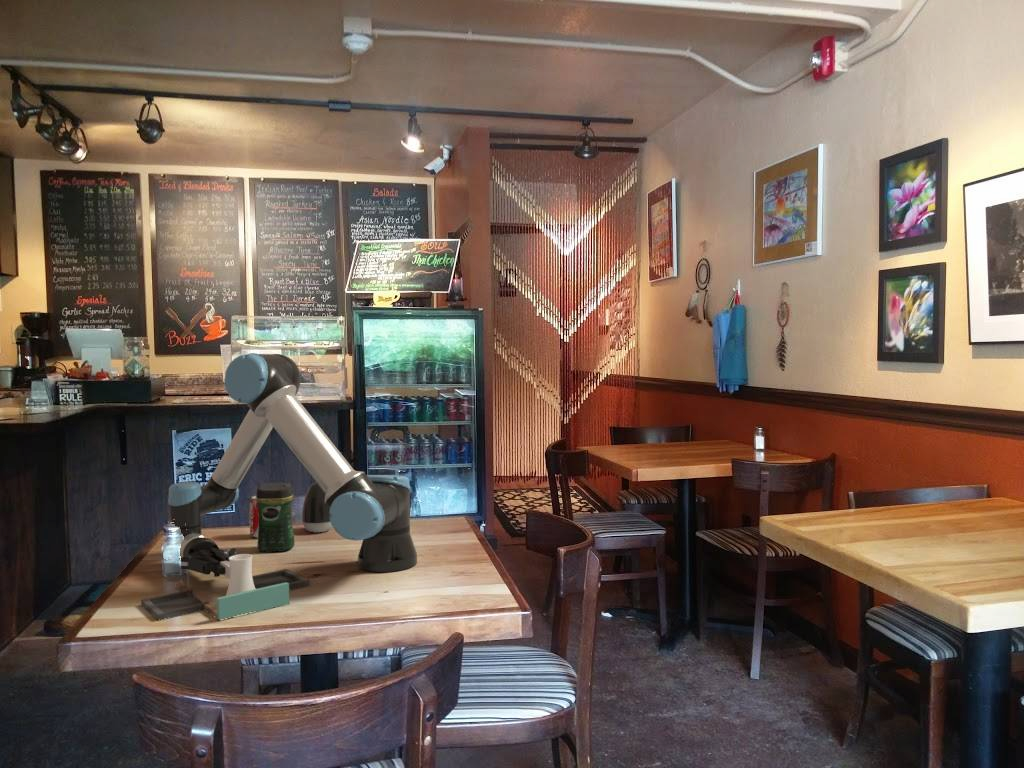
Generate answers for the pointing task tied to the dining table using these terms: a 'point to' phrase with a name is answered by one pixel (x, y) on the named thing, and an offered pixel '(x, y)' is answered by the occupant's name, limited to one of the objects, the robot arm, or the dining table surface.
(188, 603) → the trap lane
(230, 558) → the vase
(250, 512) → the soda can
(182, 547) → the robot arm
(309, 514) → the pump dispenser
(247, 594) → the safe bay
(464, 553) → the dining table surface
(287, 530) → the coffee jar
